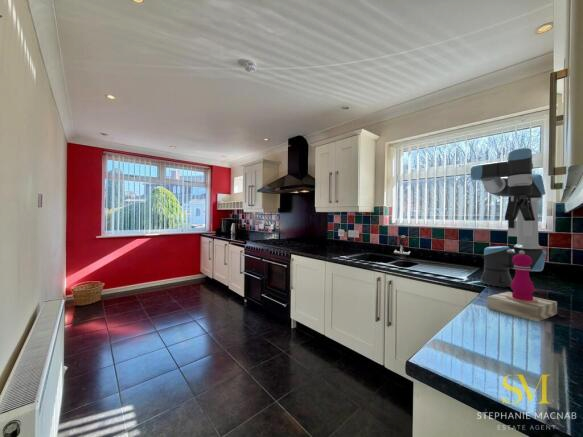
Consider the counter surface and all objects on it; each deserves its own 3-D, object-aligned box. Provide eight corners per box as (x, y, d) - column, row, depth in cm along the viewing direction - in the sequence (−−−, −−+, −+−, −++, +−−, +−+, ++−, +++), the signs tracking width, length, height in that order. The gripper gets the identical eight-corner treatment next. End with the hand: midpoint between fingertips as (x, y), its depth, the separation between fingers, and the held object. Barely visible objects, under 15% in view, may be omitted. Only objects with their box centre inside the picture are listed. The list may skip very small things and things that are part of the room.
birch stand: (507, 302, 112) (507, 291, 112) (557, 314, 98) (556, 300, 98) (487, 308, 104) (487, 295, 104) (537, 321, 90) (537, 307, 90)
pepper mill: (506, 296, 103) (506, 249, 104) (518, 295, 105) (517, 249, 106) (526, 301, 96) (526, 251, 97) (539, 300, 98) (538, 251, 99)
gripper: (517, 182, 93) (517, 237, 93) (544, 187, 105) (545, 236, 104) (494, 184, 100) (494, 236, 100) (521, 189, 111) (522, 235, 111)
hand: (520, 236), depth 102 cm, fingers open, 13 cm apart
